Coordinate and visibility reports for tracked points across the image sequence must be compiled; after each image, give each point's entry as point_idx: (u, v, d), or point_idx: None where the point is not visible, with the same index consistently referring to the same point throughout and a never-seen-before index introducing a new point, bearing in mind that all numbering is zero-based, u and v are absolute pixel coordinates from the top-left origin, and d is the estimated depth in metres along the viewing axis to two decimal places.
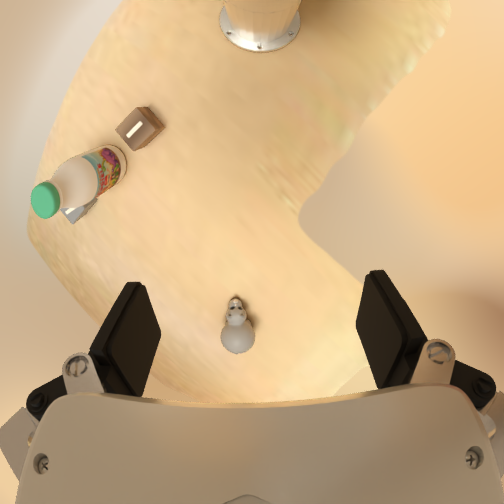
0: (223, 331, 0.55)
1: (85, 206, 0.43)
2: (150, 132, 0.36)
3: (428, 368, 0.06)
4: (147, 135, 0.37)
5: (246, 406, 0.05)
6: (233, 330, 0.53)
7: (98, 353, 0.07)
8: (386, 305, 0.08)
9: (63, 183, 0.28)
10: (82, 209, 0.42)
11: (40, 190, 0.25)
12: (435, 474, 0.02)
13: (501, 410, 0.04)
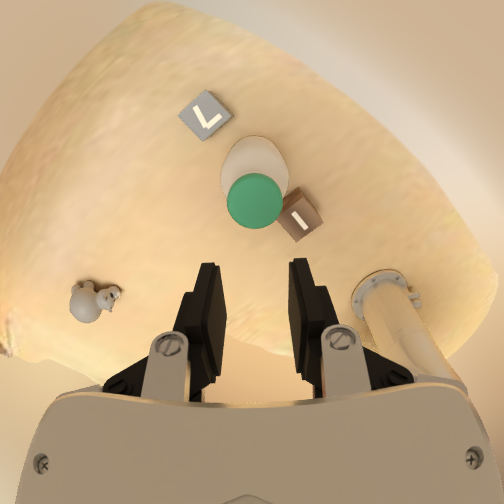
0: (87, 296, 0.45)
1: (204, 139, 0.34)
2: (294, 237, 0.40)
3: (336, 358, 0.07)
4: (291, 234, 0.40)
5: (246, 406, 0.05)
6: (93, 307, 0.46)
7: (193, 329, 0.08)
8: (296, 290, 0.10)
9: None
10: (200, 137, 0.33)
11: (274, 207, 0.22)
12: (435, 474, 0.02)
13: None
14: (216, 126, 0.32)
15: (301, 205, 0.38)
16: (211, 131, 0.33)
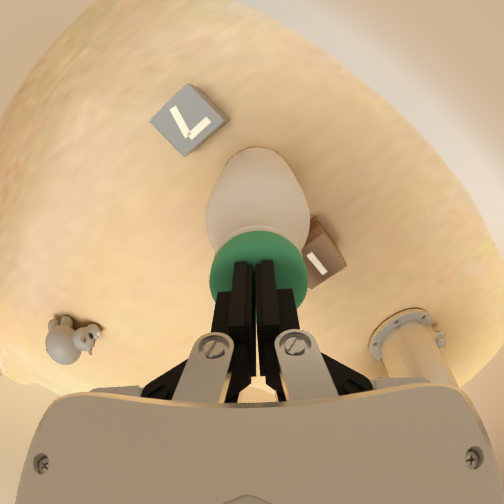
0: (63, 336, 0.36)
1: (187, 154, 0.24)
2: (308, 283, 0.30)
3: (294, 364, 0.07)
4: None
5: (246, 406, 0.05)
6: (71, 350, 0.36)
7: (237, 330, 0.08)
8: (257, 292, 0.10)
9: None
10: (181, 150, 0.24)
11: None
12: (435, 474, 0.02)
13: None
14: (203, 135, 0.23)
15: (320, 244, 0.28)
16: (196, 142, 0.23)
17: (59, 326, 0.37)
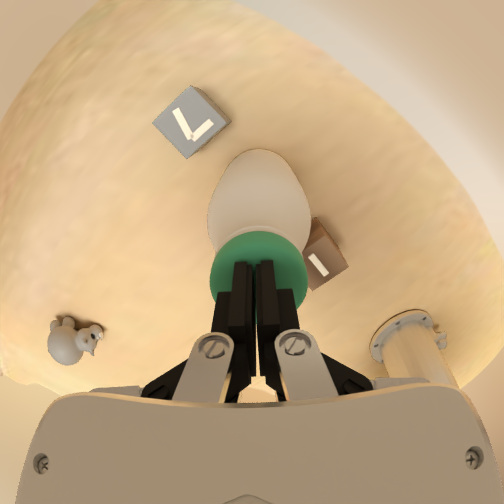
0: (65, 337, 0.36)
1: (189, 156, 0.24)
2: (310, 285, 0.30)
3: (294, 364, 0.07)
4: None
5: (246, 406, 0.05)
6: (73, 350, 0.36)
7: (237, 330, 0.08)
8: (257, 292, 0.10)
9: None
10: (184, 152, 0.24)
11: None
12: (435, 474, 0.02)
13: None
14: (205, 137, 0.23)
15: (321, 246, 0.28)
16: (199, 144, 0.23)
17: (61, 327, 0.38)
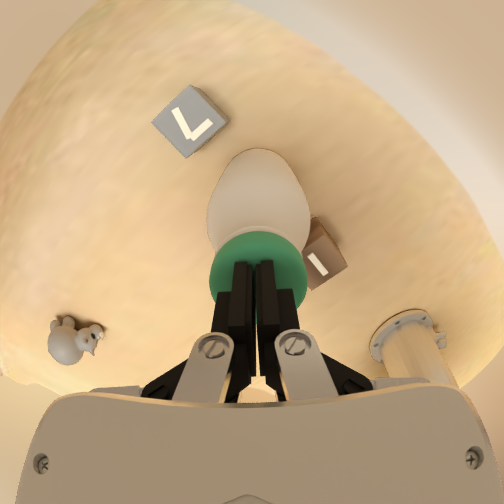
0: (65, 337, 0.36)
1: (189, 155, 0.24)
2: (309, 284, 0.30)
3: (294, 364, 0.07)
4: None
5: (246, 406, 0.05)
6: (73, 350, 0.36)
7: (237, 330, 0.08)
8: (257, 292, 0.10)
9: None
10: (183, 152, 0.24)
11: None
12: (435, 474, 0.02)
13: None
14: (205, 137, 0.23)
15: (321, 245, 0.28)
16: (198, 143, 0.23)
17: (61, 326, 0.38)
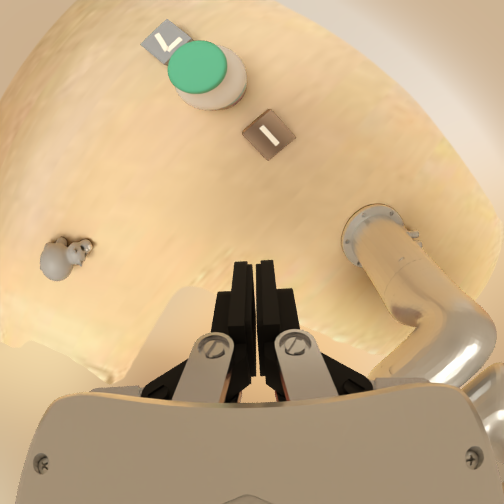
0: (56, 249, 0.40)
1: (166, 63, 0.28)
2: (264, 155, 0.35)
3: (294, 364, 0.07)
4: (261, 151, 0.35)
5: (246, 406, 0.05)
6: (63, 261, 0.40)
7: (237, 330, 0.08)
8: (257, 292, 0.10)
9: (218, 85, 0.20)
10: (162, 60, 0.27)
11: (217, 66, 0.17)
12: (435, 474, 0.02)
13: None
14: (177, 48, 0.27)
15: (269, 118, 0.32)
16: (172, 53, 0.27)
17: (54, 243, 0.42)
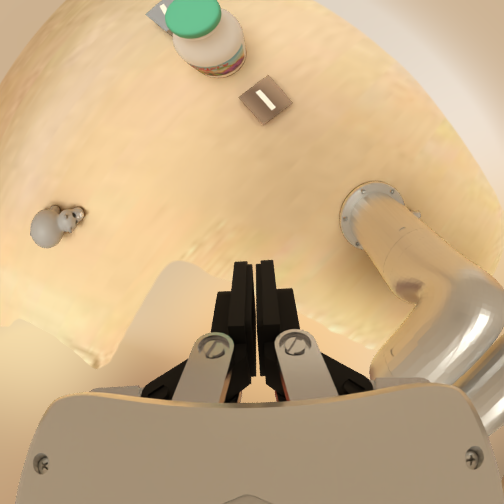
0: (48, 214, 0.38)
1: (168, 31, 0.27)
2: (260, 119, 0.33)
3: (294, 364, 0.07)
4: (257, 115, 0.33)
5: (246, 406, 0.05)
6: (53, 226, 0.38)
7: (237, 329, 0.08)
8: (257, 292, 0.10)
9: (213, 36, 0.19)
10: (164, 28, 0.26)
11: (210, 12, 0.15)
12: (435, 474, 0.02)
13: None
14: None
15: (266, 83, 0.30)
16: None
17: None
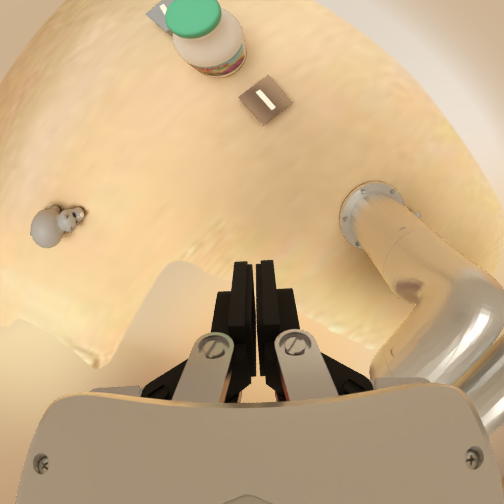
0: (48, 214, 0.38)
1: (168, 31, 0.27)
2: (260, 119, 0.33)
3: (294, 364, 0.07)
4: (257, 115, 0.33)
5: (246, 406, 0.05)
6: (53, 226, 0.38)
7: (237, 330, 0.08)
8: (257, 292, 0.10)
9: (213, 36, 0.19)
10: (164, 28, 0.26)
11: (211, 12, 0.15)
12: (435, 474, 0.02)
13: None
14: None
15: (266, 83, 0.30)
16: None
17: None
